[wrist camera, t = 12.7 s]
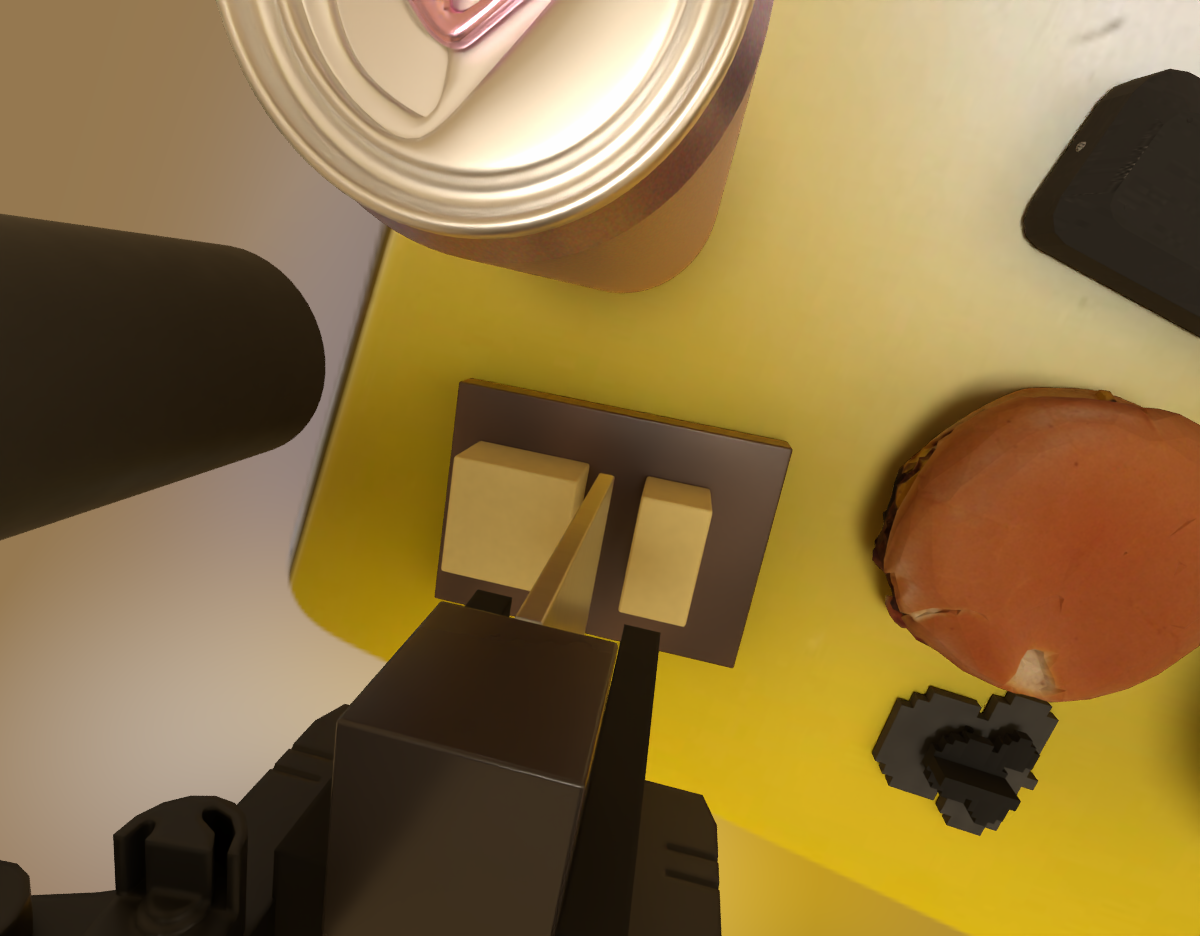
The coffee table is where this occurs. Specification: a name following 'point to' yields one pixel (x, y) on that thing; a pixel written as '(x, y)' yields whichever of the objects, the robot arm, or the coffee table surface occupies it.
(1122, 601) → the burger
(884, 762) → the block figure
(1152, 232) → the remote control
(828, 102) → the coffee table surface
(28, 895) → the robot arm
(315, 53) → the beverage can
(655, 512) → the block
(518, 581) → the butter block
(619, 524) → the board
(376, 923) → the dark handled dough scraper
